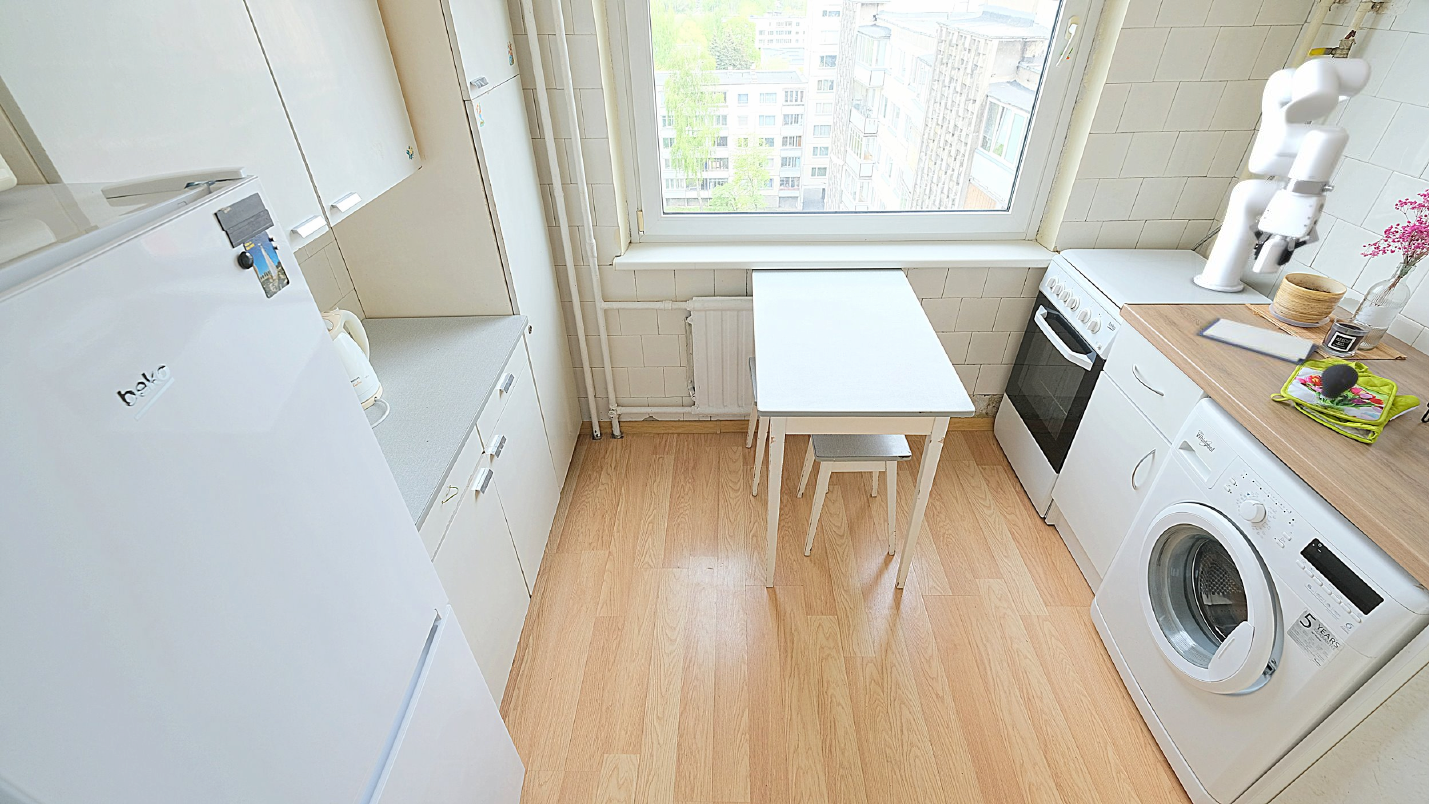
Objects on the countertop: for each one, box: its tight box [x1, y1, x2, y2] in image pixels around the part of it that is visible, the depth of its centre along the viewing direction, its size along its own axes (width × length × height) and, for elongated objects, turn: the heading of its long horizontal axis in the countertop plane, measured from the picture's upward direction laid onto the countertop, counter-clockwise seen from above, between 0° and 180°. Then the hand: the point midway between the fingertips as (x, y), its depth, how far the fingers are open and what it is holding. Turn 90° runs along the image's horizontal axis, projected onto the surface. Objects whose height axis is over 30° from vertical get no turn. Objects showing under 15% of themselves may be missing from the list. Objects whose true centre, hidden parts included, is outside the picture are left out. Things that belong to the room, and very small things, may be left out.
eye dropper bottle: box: [1252, 234, 1289, 275], centre depth 157 cm, size 4×6×12 cm
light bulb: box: [1316, 363, 1359, 408], centre depth 135 cm, size 6×6×10 cm
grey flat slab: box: [1196, 318, 1319, 366], centre depth 165 cm, size 16×22×1 cm
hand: (1269, 261), depth 159 cm, fingers closed on eye dropper bottle, 4 cm apart
